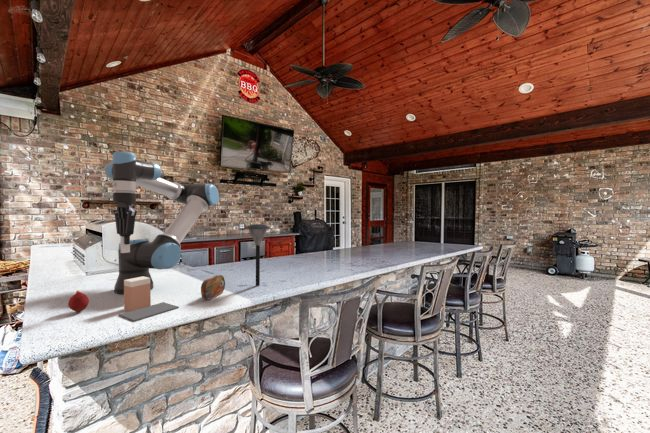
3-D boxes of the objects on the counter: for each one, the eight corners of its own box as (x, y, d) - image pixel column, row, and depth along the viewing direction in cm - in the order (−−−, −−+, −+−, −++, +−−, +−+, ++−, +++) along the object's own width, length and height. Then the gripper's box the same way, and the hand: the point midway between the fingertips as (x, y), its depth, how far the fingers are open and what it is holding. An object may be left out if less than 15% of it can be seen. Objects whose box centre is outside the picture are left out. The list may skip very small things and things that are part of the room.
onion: (89, 308, 112) (88, 287, 112) (89, 313, 108) (89, 290, 108) (68, 311, 109) (68, 290, 108) (68, 316, 104) (67, 293, 104)
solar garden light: (259, 290, 139) (259, 225, 138) (239, 286, 145) (239, 224, 144) (275, 284, 150) (275, 224, 149) (256, 281, 156) (256, 223, 154)
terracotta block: (124, 309, 112) (123, 279, 112) (143, 303, 118) (143, 276, 118) (131, 311, 110) (130, 281, 110) (150, 306, 116) (150, 278, 116)
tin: (206, 302, 122) (206, 281, 122) (199, 301, 122) (199, 281, 122) (225, 291, 137) (225, 273, 136) (219, 291, 137) (219, 272, 137)
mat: (119, 315, 106) (119, 314, 106) (163, 303, 119) (163, 302, 119) (134, 321, 100) (134, 320, 100) (178, 308, 114) (178, 306, 114)
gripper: (105, 192, 117) (106, 252, 118) (122, 191, 110) (123, 255, 111) (126, 192, 123) (126, 249, 124) (143, 192, 117) (144, 252, 118)
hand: (125, 252), depth 118 cm, fingers closed
